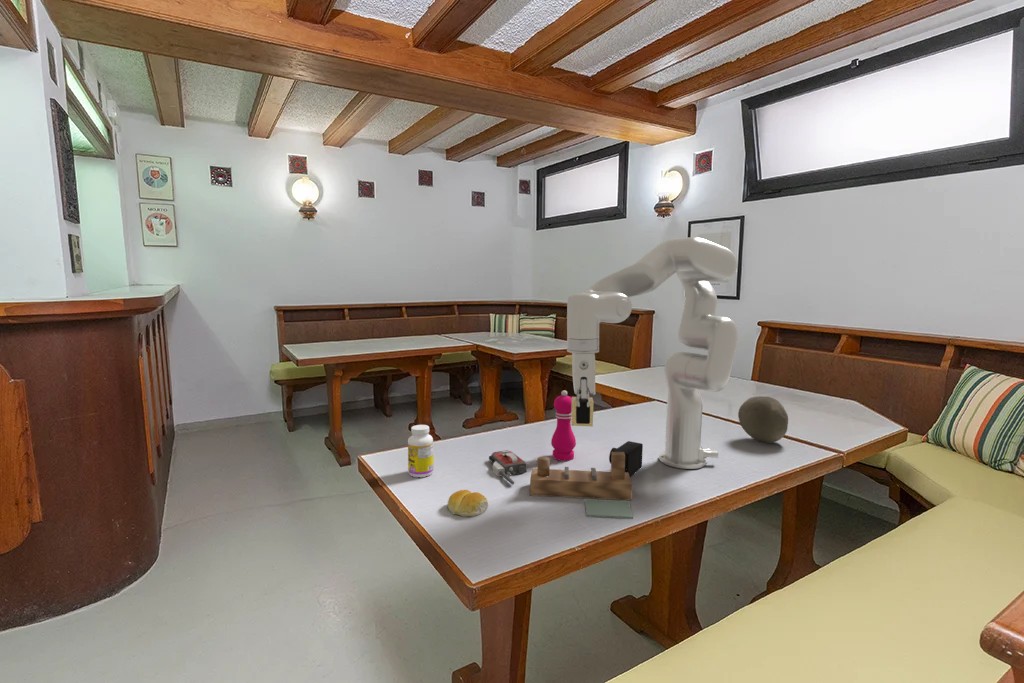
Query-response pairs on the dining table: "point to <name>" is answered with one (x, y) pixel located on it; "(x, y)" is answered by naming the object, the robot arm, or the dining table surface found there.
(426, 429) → the supplement bottle
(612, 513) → the felt pad
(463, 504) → the bread roll
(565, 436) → the pepper mill
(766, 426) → the cantaloupe
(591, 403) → the lever cap
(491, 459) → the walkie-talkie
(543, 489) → the plane body
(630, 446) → the digital camera
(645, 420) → the dining table surface
